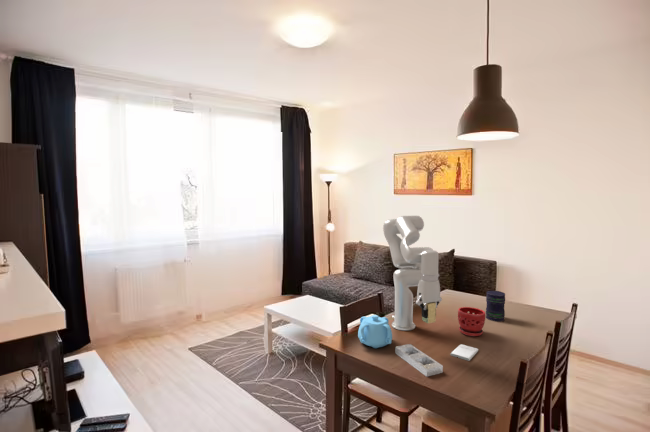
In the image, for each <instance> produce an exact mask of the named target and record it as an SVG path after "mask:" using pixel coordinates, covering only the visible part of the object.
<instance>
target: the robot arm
mask: <svg viewBox="0 0 650 432" xmlns="http://www.w3.org/2000/svg"><path fill="white" fill-rule="evenodd" d="M424 227H425V222H424V219H423V218H422V217H421V216H420V215H401V216H399V217H398V218H391V219H388V220H386V221H384V223H383V227H382V229H383V230H382V231H383V235H384V238H385V240H386V241H387V244H388V247H389V251H390V256H391V261H392V264H393V266H394V267H395V268H398V269H396V270H394V272H393V276H392V277H393V284H394V315H392V316H391V318H392V319H394V320H393V321H392V322H391V327H392V328H393V329H396V330H398V331H412V330H414V329H415V328H416V323H414V322H413V315H414V314H413V313H414V311H413V310H414V294H413V292H412V290H411V289H410V287H417V292H416V301H415V304H416V305H417V306H418V307H420V309H421V318H422V317H424V318H427V310H426V308H427V303H431V302H435V303H436V309H437V308H438V306H439V304H440V303H441V302H442V301H443V299H442V296H441V287H440V286H441V284H440V280H439V278H440V273H439V252H438V251H437V250H433V248H431V247H429V246H428V247H427V246H424V247H423V246H421V247H418V246H417V247H411V245H414V244H415V243H417V241H419V239H420V237H421V233H420V232H421V231H423V229H424ZM399 235H400V236H399ZM401 237H402V238H401Z"/></svg>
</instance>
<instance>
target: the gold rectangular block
mask: <svg viewBox="0 0 650 432" xmlns="http://www.w3.org/2000/svg"><path fill="white" fill-rule="evenodd" d="M426 310H427V318H424V317H422V316H421V320H422V321H423V322H424V323H426V324H431V323H432V324H433V323H436V318H437V308H436V303H435V302H431V303H427V308H426Z"/></svg>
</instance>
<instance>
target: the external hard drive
mask: <svg viewBox="0 0 650 432" xmlns="http://www.w3.org/2000/svg"><path fill="white" fill-rule="evenodd" d="M478 352H479V348H477V347H473V346H470V345H465V344H459V345H458V346H457V347H456V348H455V349H454V350H452V351H451V353H450V357H454V358H457V357H458V359H461V360H463V361H464V360H465V361H468V362H469V361H471V360H472V358H473V357H474V356H475V355H476V354H477V353H478Z"/></svg>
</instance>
